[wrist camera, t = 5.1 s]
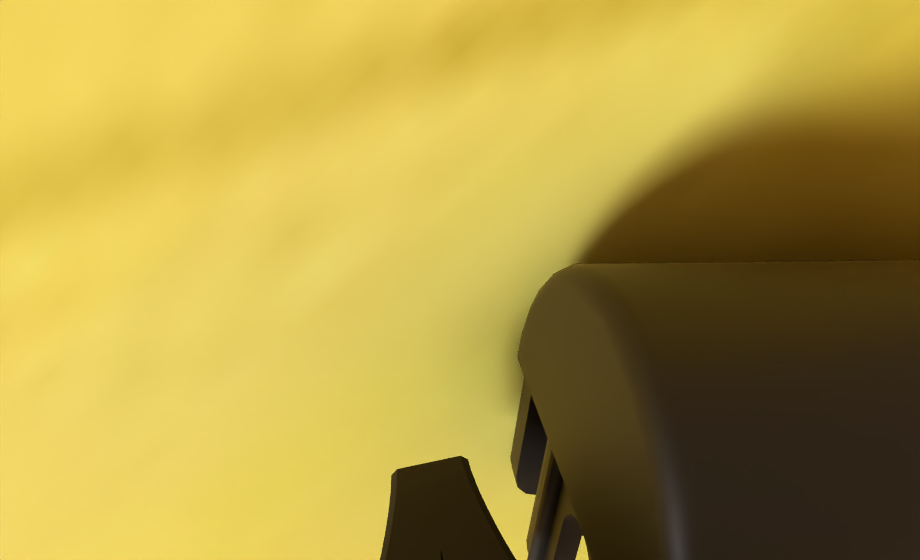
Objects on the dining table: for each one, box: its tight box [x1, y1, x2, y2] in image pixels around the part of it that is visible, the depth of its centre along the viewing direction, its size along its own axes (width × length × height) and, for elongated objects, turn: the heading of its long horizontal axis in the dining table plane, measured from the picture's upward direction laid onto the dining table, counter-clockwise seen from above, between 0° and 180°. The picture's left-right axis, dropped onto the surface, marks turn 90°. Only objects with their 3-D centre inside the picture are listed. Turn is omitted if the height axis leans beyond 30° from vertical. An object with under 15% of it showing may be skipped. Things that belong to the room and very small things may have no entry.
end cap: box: [511, 260, 920, 560], centre depth 10 cm, size 10×7×7 cm
